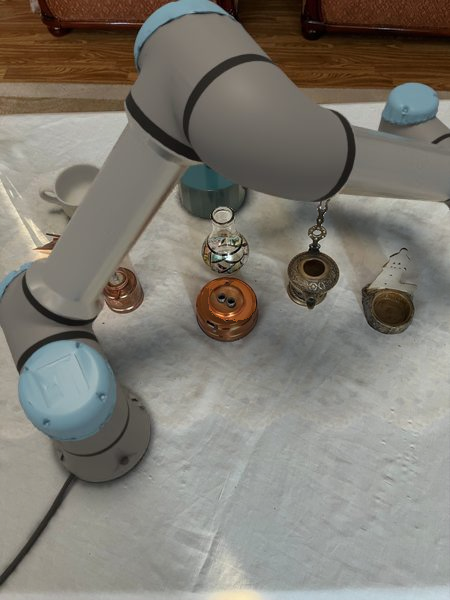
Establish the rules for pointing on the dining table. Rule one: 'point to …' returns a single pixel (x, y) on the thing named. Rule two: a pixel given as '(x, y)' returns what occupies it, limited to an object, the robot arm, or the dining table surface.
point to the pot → (210, 199)
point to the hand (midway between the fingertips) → (219, 135)
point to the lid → (205, 179)
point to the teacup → (70, 186)
